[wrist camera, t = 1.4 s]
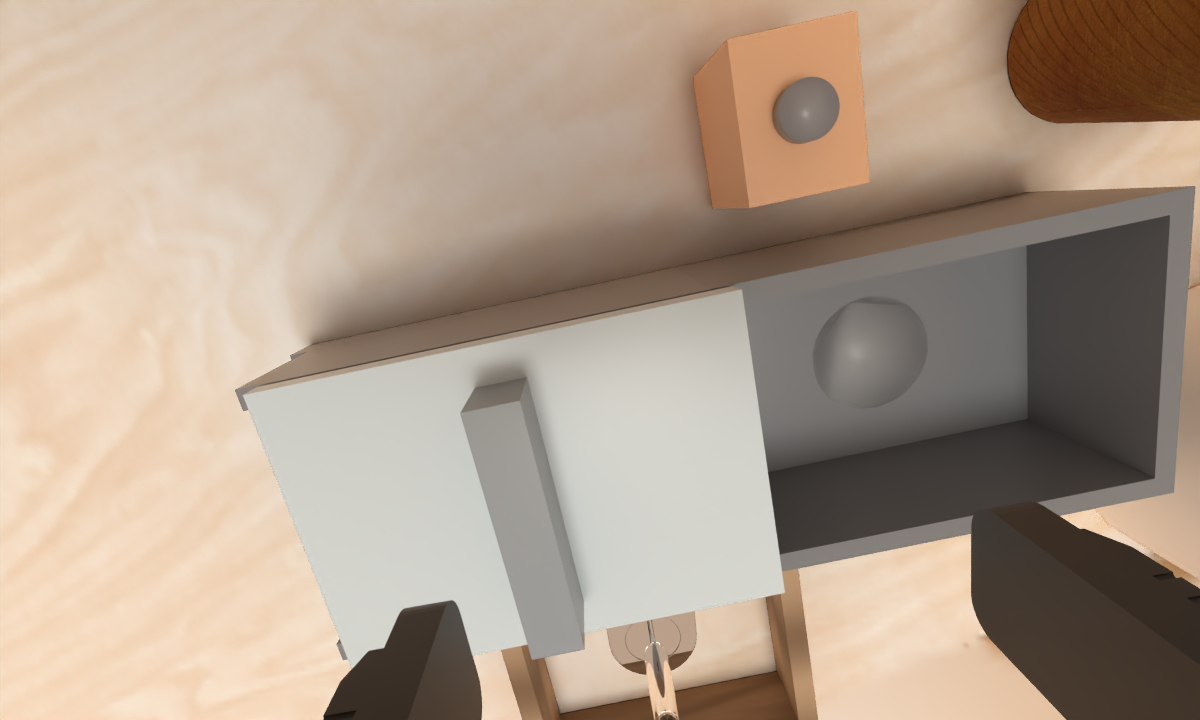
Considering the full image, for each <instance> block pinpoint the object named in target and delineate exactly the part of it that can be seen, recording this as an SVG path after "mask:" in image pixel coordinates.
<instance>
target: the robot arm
mask: <svg viewBox="0 0 1200 720" xmlns="http://www.w3.org/2000/svg"><path fill="white" fill-rule="evenodd" d="M971 597H972V603H973V607H974V610H975V613H976V616H977V618H978V620H979V622H980V624H981V626H982V628H983V630H984V631H985V633H986V634H987V636H988V637H989V638H990V639H991V641H992V642H993V643H994V644H995V645H996V646H997V647H998V648H999V649H1000V650H1001V651H1002V652H1003V653H1004V655H1005V656H1006V657H1007V658H1008V659H1009V660H1010V661H1011V662H1012V663H1013V664H1014V665H1015V666H1016V667H1017V668H1018V669H1019V670H1020V671H1021V672H1022V673H1023V674H1024V675H1025V677H1026V678H1027V679H1028V680H1029V681H1030V682H1031V683H1032V684H1033V685H1034V686H1035V687H1036V688H1037V689H1038V690H1039V691H1040V692H1041V693H1042V694H1043V695H1044V697H1045V698H1046V699H1047V700H1048V701H1049V702H1050V703H1051V704H1052V705H1053V706H1054V707H1055V708H1056V709H1057V710H1058V711H1059V712H1060V713H1061V714H1062V715H1063V717H1064V718H1066V720H1200V589H1199V588H1198V587H1196V586H1195V585H1193V584H1191V583H1190V582H1188V581H1186V580H1185V579H1183V578H1182V577H1180V578H1176V577H1175V576H1174V575H1173V572H1172V571H1170V570H1169V569H1167V568H1165V567H1164V566H1162V565H1160V564H1159V563H1157V562H1155V561H1154V560H1152V559H1151V558H1149V557H1147V556H1146V555H1144V554H1142V553H1141V552H1139V551H1138V550H1136V549H1134V548H1133V547H1131V546H1128V545H1125V544H1123V543H1120V542H1118V541H1115V540H1112V539H1110V538H1107V537H1104V536H1102V535H1099V534H1097V533H1094V532H1091V531H1089V530H1086V529H1079V528H1077V527H1076V526H1074V525H1072V524H1071V523H1069V522H1068V521H1066V520H1065V519H1063V518H1062V517H1060V516H1058V515H1057V514H1055V513H1054V512H1052V511H1051V510H1049V509H1048V508H1046V507H1044V506H1043V505H1041V504H1039V503H1036V502H1033V501H1027V502H1021V503H1016V504H1010V505H1004V506H998V507H993V508H987V509H981V510H978V511H976V513H975V514H974V516H973V518H972V524H971ZM323 717H324V720H481V718H482V697H481V687H480V681H479V677H478V674H477V670H476V667H475V663H474V660H473V656H472V652H471V649H470V645H469V642H468V638H467V635H466V631H465V628H464V624H463V621H462V617H461V614H460V611H459V608H458V606H457V604H456V602H454V601H453V600H449V601H443V602H437V603H432V604H426V605H420V606H414V607H409V608H404V609H403V610H402V611H401V612H400V613H399V615H398V617H397V620H396V622H395V624H394V626H393V629H392V631H391V633H390V635H389V638H388V640H387V642H386V644H385V647H384V648H381V649H376V650H370V651H368V652H367V653H366V654H365V655H364V656H363V657H362V659H361V660H360V661H359V662H358V663H357V664H356V665H355V666H354V667H353V668H352V670H351V671H350V672H349V673H348V674H347V675H346V676H345V677H344V678H343V679H342V681H341V682H340V684H339V686H338V688H337V690H336V692H335V694H334V696H333V698H332V700H331V702H330V704H329V706H328V708H327V710H326V712H325V714H324V716H323Z"/></svg>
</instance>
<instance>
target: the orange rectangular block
mask: <svg viewBox="0 0 1200 720" xmlns="http://www.w3.org/2000/svg"><path fill="white" fill-rule="evenodd" d="M693 82H694V89H695V95H696V102H697V109H698V115H699V122H700V129H701V135H702V142H703V149H704V155H705V162H706V169H707V175H708V182H709V189H710V195H711V202H712V208H753V207H758V206H763V205H767V204H772V203H777V202H781V201H786V200H791V199H795V198H800V197H805V196H809V195H814V194H819V193H823V192H828V191H833V190H837V189H842V188H847V187H851V186H856V185H860V184H865V183H870V177H869V164H868V151H867V138H866V125H865V112H864V100H863V87H862V74H861V61H860V48H859V35H858V23H857V11H853V12H848V13H844V14H839V15H834V16H830V17H825V18H821V19H816V20H812V21H807V22H803V23H798V24H794V25H789V26H785V27H780V28H776V29H771V30H767V31H762V32H758V33H753V34H749V35H744V36H740V37H735V38H731V39H727V40H726V41H725V42H724V43H723V45H722V46H721V47H720V48H719V49H718V50H717V51H716V53H715V54H714V55H713V56H712V57H711V58H710V60H709V61H708V62H707V63H706V64H705V65H704V66H703V68H702V69H701V70H700V71H699V72H698V73H697V74H696V76H695V77H694V78H693Z"/></svg>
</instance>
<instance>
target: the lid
mask: <svg viewBox="0 0 1200 720" xmlns="http://www.w3.org/2000/svg"><path fill="white" fill-rule="evenodd" d="M243 397H244V400H245V402H246V405H247V407H248V410H249V412H250V415H251V417H252V420H253V422H254V425H255V427H256V430H257V432H258V435H259V437H260V440H261V442H262V445H263V447H264V450H265V452H266V455H267V457H268V460H269V462H270V465H271V467H272V470H273V472H274V475H275V477H276V480H277V482H278V485H279V488H280V490H281V493H282V495H283V498H284V500H285V503H286V505H287V508H288V510H289V513H290V515H291V518H292V520H293V523H294V525H295V528H296V530H297V533H298V535H299V538H300V540H301V543H302V545H303V548H304V550H305V553H306V555H307V558H308V560H309V563H310V565H311V568H312V570H313V573H314V575H315V578H316V581H317V583H318V586H319V588H320V591H321V593H322V596H323V598H324V601H325V603H326V606H327V608H328V611H329V613H330V616H331V618H332V621H333V623H334V626H335V628H336V631H337V633H338V636H339V638H340V641H341V643H342V646H343V648H344V651H345V653H346V656H347V658H348V661H349V663H350V666H351V668H353V667H354V666H355V665H356V664H357V663H358V662H359V661H360V660H361V659H362V657H363V656H364V655H365V654H366V653H367V652H368V651H370V650H376V649H381V648H384V647H385V644H386V642H387V640H388V638H389V635H390V633H391V631H392V629H393V626H394V624H395V622H396V620H397V617H398V615H399V613H400V612H401V611H402V610H403V609H404V608H409V607H414V606H420V605H426V604H432V603H437V602H443V601H449V600H453V601H454V602H456V604H457V606H458V608H459V611H460V614H461V617H462V621H463V624H464V628H465V631H466V635H467V638H468V642H469V645H470V649H471V652H472V656H473V655H478V654H483V653H488V652H493V651H498V650H503V649H508V648H513V647H518V646H523V645H528V648H529V651H530V655H531V658H532V660H534V659H539V658H544V657H549V656H554V655H559V654H564V653H569V652H574V651H579V650H584V649H585V648H584V633H588V632H593V631H598V630H603V629H608V628H613V627H618V626H623V625H628V624H633V623H638V622H643V621H648V620H653V619H657V618H662V617H667V616H672V615H677V614H682V613H687V612H692V611H697V610H702V609H707V608H712V607H717V606H722V605H727V604H732V603H737V602H742V601H747V600H752V599H757V598H762V597H767V596H772V595H777V594H782V593H785V589H784V582H783V575H782V568H781V561H780V554H779V547H778V540H777V533H776V526H775V519H774V512H773V505H772V498H771V491H770V483H769V476H768V469H767V462H766V455H765V448H764V441H763V434H762V427H761V420H760V413H759V406H758V399H757V392H756V385H755V378H754V371H753V364H752V357H751V350H750V343H749V336H748V328H747V321H746V314H745V307H744V300H743V293H742V289H740V288H738V287H736V286H731V287H726V288H721V289H717V290H712V291H707V292H703V293H698V294H693V295H688V296H684V297H679V298H674V299H670V300H665V301H660V302H655V303H651V304H646V305H641V306H637V307H632V308H627V309H622V310H618V311H613V312H608V313H604V314H599V315H594V316H589V317H585V318H580V319H575V320H571V321H566V322H561V323H556V324H552V325H547V326H542V327H538V328H533V329H528V330H523V331H519V332H514V333H509V334H505V335H500V336H495V337H490V338H486V339H481V340H476V341H472V342H467V343H462V344H458V345H453V346H448V347H443V348H439V349H434V350H429V351H425V352H420V353H415V354H410V355H406V356H401V357H396V358H392V359H387V360H382V361H377V362H373V363H368V364H363V365H359V366H354V367H349V368H344V369H340V370H335V371H330V372H326V373H321V374H316V375H311V376H307V377H302V378H297V379H293V380H288V381H283V382H278V383H274V384H269V385H264V386H260V387H257V388H255V389H253V390H251V391H249V392H248V393H246V394H244V395H243Z"/></svg>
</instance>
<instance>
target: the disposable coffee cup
mask: <svg viewBox="0 0 1200 720" xmlns="http://www.w3.org/2000/svg"><path fill="white" fill-rule="evenodd" d="M1008 69H1009V76H1010V80H1011V84H1012V88H1013V90H1014V92H1015V94H1016V96H1017V98H1018V99H1019V100H1020V102H1021V103H1022V104H1023V106H1024V107H1025V108H1026V109H1027V110H1028V111H1029V112H1031V113H1032V114H1033V115H1035V116H1037V117H1040V118H1042V119H1044V120H1046V121H1049V122H1054V123H1101V122H1152V121H1194V120H1200V0H1029V2H1028V3H1027V4H1026V6H1025V7H1024V8H1023V10H1022V12H1021V14H1020V16H1019V18H1018V20H1017V22H1016V24H1015V27H1014V30H1013V33H1012V36H1011V39H1010V44H1009V51H1008Z"/></svg>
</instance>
